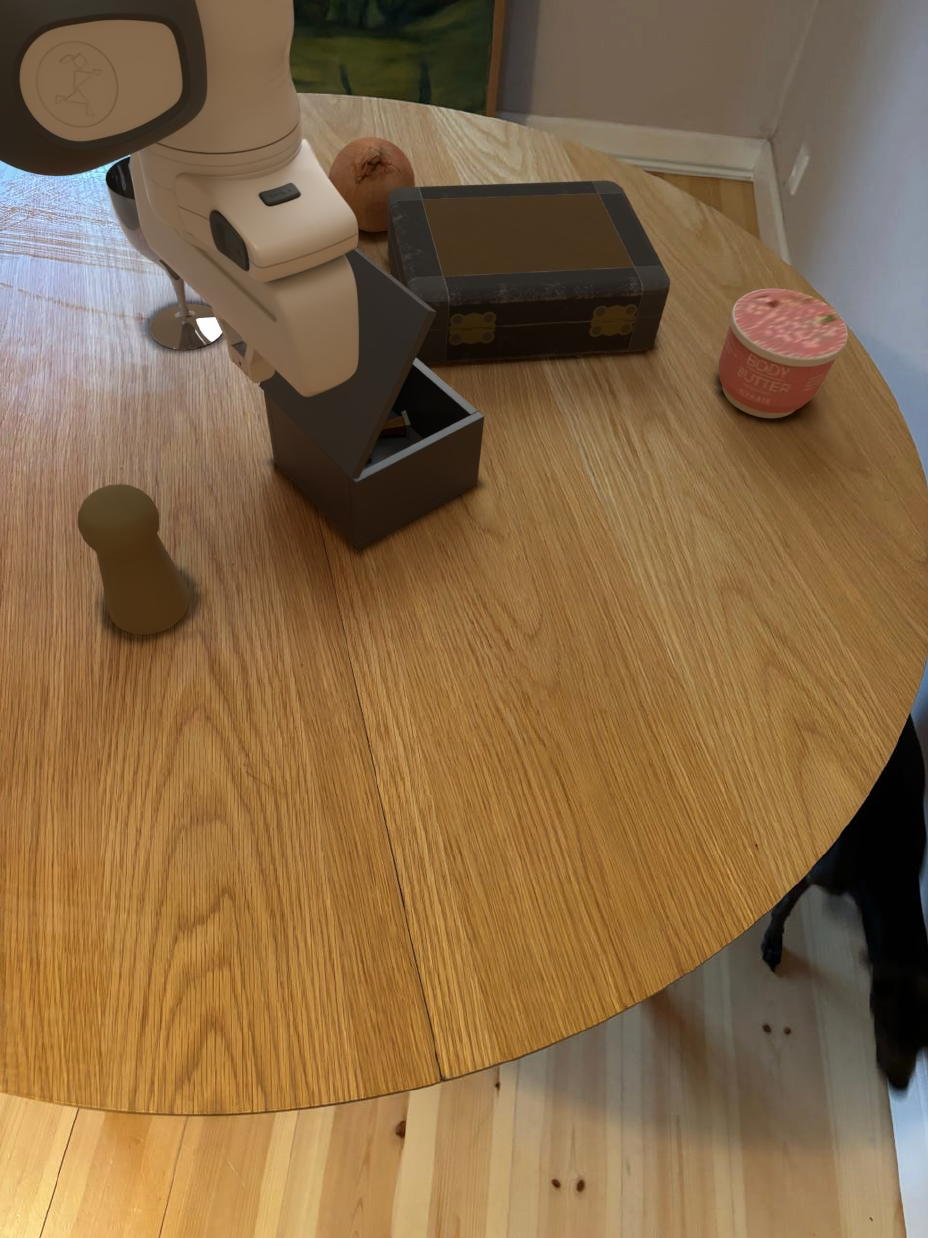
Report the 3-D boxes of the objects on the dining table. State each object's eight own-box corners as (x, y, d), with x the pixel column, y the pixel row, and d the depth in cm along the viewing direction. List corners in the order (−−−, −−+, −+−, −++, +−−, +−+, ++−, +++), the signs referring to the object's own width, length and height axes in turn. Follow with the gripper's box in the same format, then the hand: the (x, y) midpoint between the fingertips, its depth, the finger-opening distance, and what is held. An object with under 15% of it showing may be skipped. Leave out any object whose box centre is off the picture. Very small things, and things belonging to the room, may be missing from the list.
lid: (329, 224, 64) (320, 221, 64) (437, 312, 59) (429, 310, 59) (266, 386, 71) (258, 385, 70) (359, 478, 66) (351, 478, 65)
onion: (383, 265, 101) (387, 211, 91) (312, 220, 100) (308, 162, 91) (427, 203, 103) (435, 144, 93) (358, 159, 102) (359, 95, 92)
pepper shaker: (131, 648, 65) (90, 551, 56) (93, 595, 68) (48, 495, 59) (205, 608, 68) (176, 510, 59) (165, 559, 70) (132, 457, 61)
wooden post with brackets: (327, 477, 76) (317, 440, 79) (418, 459, 78) (405, 423, 80) (325, 462, 75) (315, 425, 77) (417, 444, 76) (404, 408, 78)
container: (837, 410, 86) (873, 341, 80) (751, 440, 83) (782, 371, 76) (769, 347, 91) (797, 277, 85) (686, 373, 88) (709, 302, 82)
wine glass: (149, 357, 84) (108, 205, 72) (142, 306, 89) (102, 155, 77) (234, 346, 86) (207, 196, 74) (223, 297, 90) (196, 148, 78)
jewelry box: (604, 239, 101) (618, 172, 95) (658, 353, 90) (677, 285, 83) (385, 249, 97) (384, 180, 91) (411, 369, 86) (412, 299, 79)
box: (390, 405, 83) (390, 334, 76) (477, 485, 77) (484, 416, 71) (273, 461, 77) (263, 390, 71) (358, 551, 72) (355, 483, 66)
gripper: (84, 103, 53) (136, 307, 64) (274, 273, 44) (296, 474, 55) (181, 79, 55) (214, 279, 66) (377, 235, 47) (378, 434, 58)
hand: (252, 369), depth 61 cm, fingers closed
